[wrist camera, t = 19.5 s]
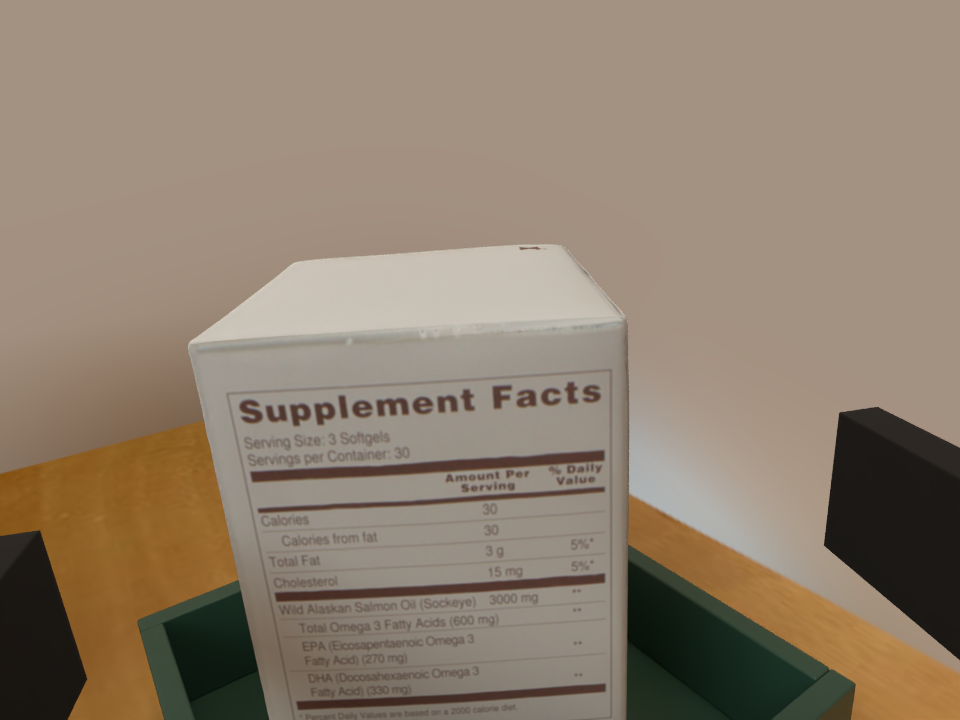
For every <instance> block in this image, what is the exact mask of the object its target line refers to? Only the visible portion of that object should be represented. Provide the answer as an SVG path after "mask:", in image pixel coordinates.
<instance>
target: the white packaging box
mask: <svg viewBox="0 0 960 720" xmlns="http://www.w3.org/2000/svg"><path fill="white" fill-rule="evenodd" d="M627 326H628V325H627V319H626V316H625V315H624V313H623V312H621V310H620V309H619V308H618V307H617V305H616V304H615V303H613V302H612V301H611V300H610V299H609V297H608V296H607V295H606V294H605V292H604V291H603V290H602V289H601V288H600V287H599V286H598V284H596V282H595V281H594V280H593V279H592V278H591V275H590V274H589V273H588V272H587V271H586V270H585V269H584V268H583V267H582V266H581V265H580V264H579V263H578V262H577V261H576V259H575V258H574V257H573V256H572V254H571V253H570V252H569V251H568V249H567V248H566V247H564V246H560V245H546V244H536V245H535V244H532V245H507V246H493V247H478V248H465V249H452V250H439V251H426V252H413V253H400V254H388V255H387V254H386V255H374V256H360V257H359V256H358V257H342V258H329V259H317V260H308V261H301V262H295V263H293V264H292V265H290V266H289V267H288V268H286V269H285V270H284V271H283V272H282V273H281V274H279V275H278V276H277V277H276V278H275V279H273V280H272V281H270V282H269V283H268V284H267V285H265V286H264V287H263V288H261V289H260V290H259V291H258V292H256V293H255V294H254V295H252V296H251V297H250V298H248V299H247V300H246V301H245V302H243V303H242V304H241V305H239V306H238V307H237V308H235V309H234V310H233V311H231V312H230V313H229V314H228V315H226V316H225V317H224V318H222V319H221V320H220V321H218V322H217V323H215V324H214V325H213V326H211V327H210V328H209V329H207V330H206V331H204V332H203V333H202V334H200V335H199V336H198V337H196V338H195V339H193V340H192V341H190V343H189V345H188V352H189V355H190V358H191V362H192V367H193V371H194V375H195V380H196V384H197V388H198V393H199V398H200V402H201V407H202V411H203V416H204V422H205V427H206V433H207V437H208V440H209V444H210V447H211V452H212V457H213V463H214V468H215V472H216V476H217V480H218V485H219V489H220V493H221V498H222V502H223V507H224V512H225V517H226V522H227V526H228V531H229V536H230V541H231V545H232V550H233V555H234V560H235V564H236V569H237V574H238V578H239V583H240V588H241V593H242V597H243V602H244V607H245V611H246V616H247V620H248V625H249V629H250V634H251V638H252V643H253V648H254V652H255V657H256V661H257V666H258V670H259V675H260V679H261V684H262V688H263V692H264V697H265V702H266V707H267V711H268V715H269V720H626V699H627V596H628V510H629V375H628V327H627Z"/></svg>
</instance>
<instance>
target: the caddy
mask: <svg viewBox="0 0 960 720" xmlns="http://www.w3.org/2000/svg"><path fill="white" fill-rule="evenodd" d="M138 626H139V630H140V634H141V637H142V641H143V644H144V648H145V652H146V655H147V659H148V663H149V666H150V670H151V673H152V677H153V681H154V684H155V688H156V691H157V695H158V699H159V702H160V706H161V709H162V713H163V717H164V720H269V715H268V711H267V707H266V702H265V697H264V692H263V688H262V684H261V679H260V675H259V670H258V666H257V661H256V657H255V652H254V648H253V643H252V638H251V634H250V629H249V625H248V620H247V616H246V611H245V607H244V602H243V597H242V593H241V588H240V583H239V580H238V581H235V582H233V583H230V584H227V585H225V586H222V587H220V588H217V589H215V590H212V591H210V592H207V593H205V594H202V595H200V596H197V597H195V598H192V599H189V600H187V601H184V602H182V603H179V604H177V605H174V606H172V607H169V608H167V609H164V610H162V611H159V612H156V613H154V614H151V615H149V616H146V617H144V618H141V619H139V620H138ZM855 686H856V685H855V683H854V682H852V681H850V680H849V679H847V678H846V677H844V676H842V675H841V674H839V673H837V672H836V671H834V670H830V671H829V668H828V667H827V666H825V665H824V664H822V663H821V662H819V661H817V660H816V659H814V658H812V657H811V656H809V655H807V654H806V653H804V652H803V651H801V650H799V649H798V648H796V647H794V646H793V645H791V644H790V643H788V642H786V641H785V640H783V639H781V638H780V637H778V636H776V635H775V634H773V633H772V632H770V631H768V630H767V629H765V628H763V627H762V626H760V625H759V624H757V623H755V622H754V621H752V620H750V619H749V618H747V617H745V616H744V615H742V614H741V613H739V612H737V611H736V610H734V609H732V608H731V607H729V606H728V605H726V604H724V603H723V602H721V601H719V600H718V599H716V598H714V597H713V596H711V595H710V594H708V593H706V592H705V591H703V590H701V589H700V588H698V587H697V586H695V585H693V584H692V583H690V582H688V581H687V580H685V579H683V578H682V577H680V576H679V575H677V574H675V573H674V572H672V571H670V570H669V569H667V568H666V567H664V566H662V565H661V564H659V563H657V562H656V561H654V560H652V559H651V558H649V557H648V556H646V555H644V554H643V553H641V552H639V551H638V550H636V549H635V548H633V547H631V546H630V545H628V596H627V699H626V720H851V714H852V707H853V700H854V693H855Z"/></svg>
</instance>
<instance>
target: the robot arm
mask: <svg viewBox="0 0 960 720" xmlns="http://www.w3.org/2000/svg"><path fill="white" fill-rule="evenodd" d="M824 546H825V547H826V548H828V549H829V550H830V551H831V552H832V553H833V554H835V555H836V556H837V557H838V558H839V559H841V560H842V561H843V562H844V563H845V564H846V565H848V566H849V567H850V568H851V569H853V570H854V571H855V572H856V573H857V574H858V575H860V576H861V577H862V578H863V579H864V580H866V581H867V582H868V583H869V584H870V585H871V586H873V587H874V588H875V589H876V590H877V591H879V592H880V593H881V594H882V595H883V596H884V597H886V598H887V599H888V600H889V601H890V602H892V603H893V604H894V605H895V606H896V607H898V608H899V609H900V610H901V611H902V612H903V613H905V614H906V615H907V616H908V617H909V618H910V619H912V620H913V621H914V622H915V623H916V624H918V625H919V626H920V627H921V628H922V629H924V630H925V631H926V632H927V633H928V634H930V635H931V636H932V637H933V638H934V639H935V640H937V641H938V642H939V643H940V644H941V645H942V646H944V647H945V648H946V649H947V650H948V651H950V652H951V653H952V654H953V655H954V656H956V657H957V658H958V659H959V660H960V448H959V447H957V446H955V445H953V444H951V443H949V442H947V441H945V440H943V439H941V438H939V437H937V436H935V435H933V434H931V433H929V432H927V431H925V430H923V429H921V428H919V427H916V426H915V425H913V424H911V423H909V422H907V421H905V420H903V419H901V418H899V417H897V416H895V415H893V414H891V413H889V412H887V411H884V410H883V409H880V408H879V407H874V408H868V409H860V410H854V411H847V412H840V413H839V420H838V428H837V437H836V446H835V456H834V464H833V472H832V480H831V489H830V498H829V506H828V515H827V524H826V532H825V541H824ZM86 680H87V677H86V674H85V671H84V667H83V664H82V661H81V658H80V655H79V652H78V649H77V645H76V642H75V639H74V636H73V633H72V630H71V627H70V623H69V620H68V617H67V614H66V611H65V608H64V605H63V601H62V598H61V595H60V592H59V589H58V586H57V583H56V579H55V576H54V573H53V570H52V567H51V564H50V561H49V557H48V554H47V551H46V548H45V545H44V542H43V539H42V536H41V532H40V530H39V531H32V532H26V533H19V534H12V535H5V536H0V720H67V719H68V717H69V715H70V713H71V711H72V709H73V707H74V705H75V703H76V701H77V699H78V697H79V695H80V693H81V691H82V689H83V686H84V684H85V682H86Z"/></svg>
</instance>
